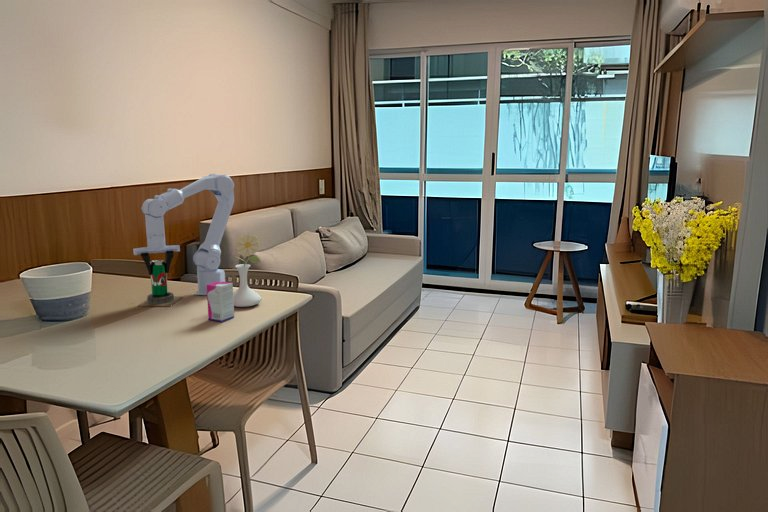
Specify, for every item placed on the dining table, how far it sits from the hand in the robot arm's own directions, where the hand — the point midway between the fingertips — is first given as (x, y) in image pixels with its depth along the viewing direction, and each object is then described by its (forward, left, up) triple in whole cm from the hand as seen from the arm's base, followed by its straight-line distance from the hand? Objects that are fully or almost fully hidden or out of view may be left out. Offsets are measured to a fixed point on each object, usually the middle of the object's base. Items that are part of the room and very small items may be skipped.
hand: (158, 273), depth 181 cm
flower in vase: (-30, +3, -10) cm, 32 cm away
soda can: (0, 0, -8) cm, 8 cm away
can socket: (0, 0, -10) cm, 10 cm away
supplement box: (-26, +18, -10) cm, 33 cm away
